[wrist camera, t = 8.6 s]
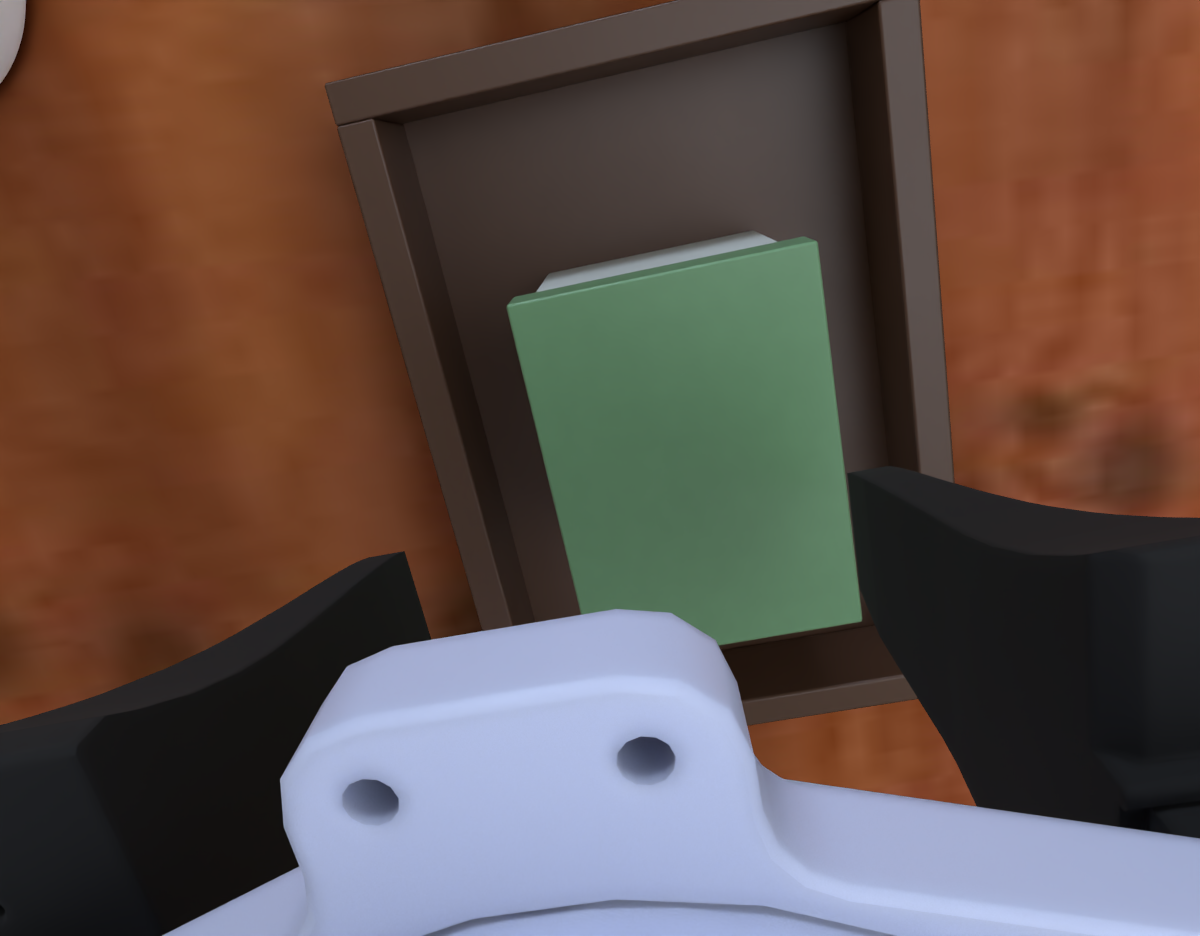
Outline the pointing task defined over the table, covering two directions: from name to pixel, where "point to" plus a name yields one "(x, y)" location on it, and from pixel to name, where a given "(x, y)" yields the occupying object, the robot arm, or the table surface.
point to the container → (695, 435)
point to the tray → (650, 223)
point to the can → (10, 32)
